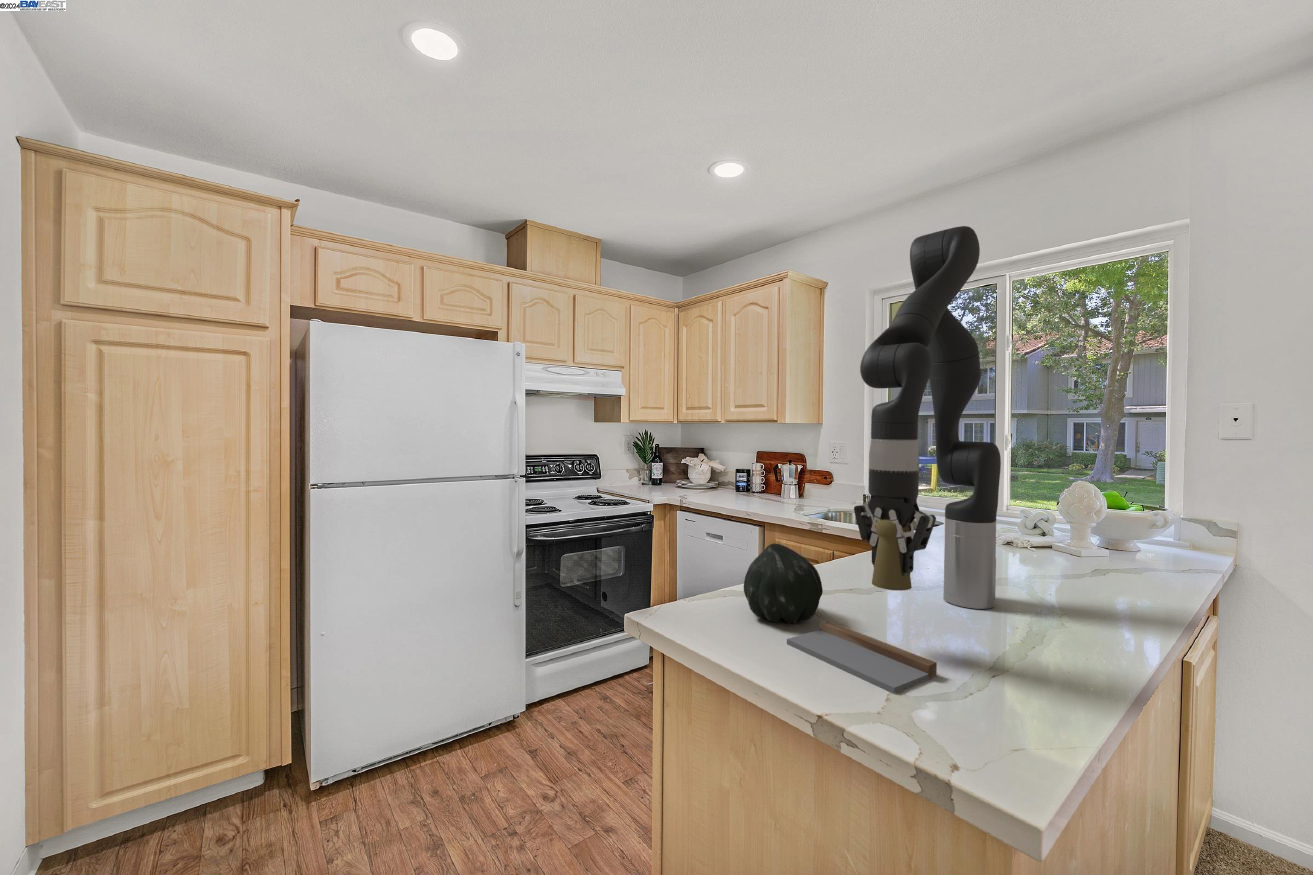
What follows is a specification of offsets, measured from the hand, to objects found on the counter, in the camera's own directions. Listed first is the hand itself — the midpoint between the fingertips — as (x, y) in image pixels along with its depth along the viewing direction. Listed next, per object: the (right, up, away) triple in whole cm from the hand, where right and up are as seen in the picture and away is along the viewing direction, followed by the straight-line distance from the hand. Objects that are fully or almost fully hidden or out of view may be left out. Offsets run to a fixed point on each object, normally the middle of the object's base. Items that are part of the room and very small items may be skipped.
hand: (891, 571), depth 91 cm
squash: (-15, -12, +15) cm, 24 cm away
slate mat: (-8, -13, -5) cm, 16 cm away
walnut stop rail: (-4, -13, -2) cm, 13 cm away
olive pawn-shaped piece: (0, -2, 0) cm, 2 cm away
